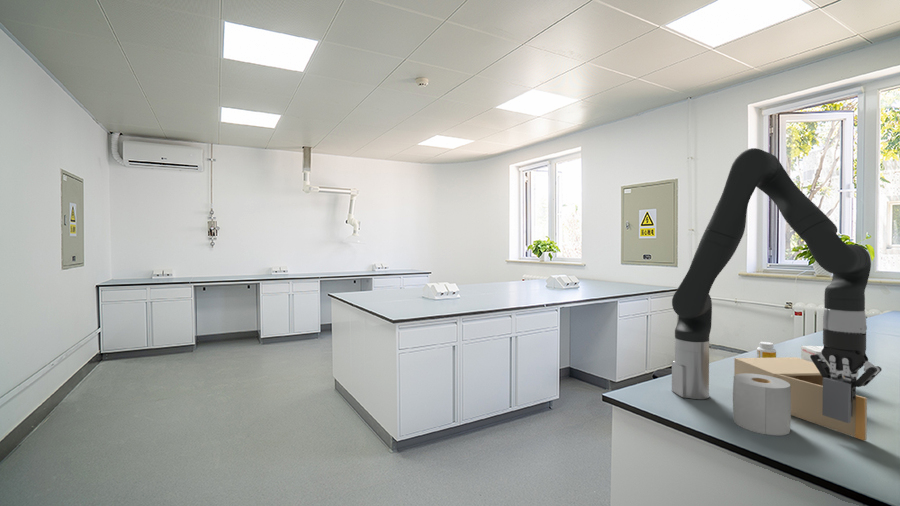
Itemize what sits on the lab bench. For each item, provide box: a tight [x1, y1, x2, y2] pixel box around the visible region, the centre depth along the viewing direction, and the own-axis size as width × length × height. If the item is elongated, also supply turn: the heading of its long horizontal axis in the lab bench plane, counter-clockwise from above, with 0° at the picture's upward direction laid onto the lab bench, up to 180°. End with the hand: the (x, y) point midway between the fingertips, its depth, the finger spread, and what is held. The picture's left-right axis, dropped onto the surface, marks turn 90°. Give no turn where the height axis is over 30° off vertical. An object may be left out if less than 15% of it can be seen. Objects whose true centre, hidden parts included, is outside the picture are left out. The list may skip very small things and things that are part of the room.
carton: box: [733, 356, 845, 386], centre depth 125 cm, size 20×16×10 cm
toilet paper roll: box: [732, 373, 792, 437], centre depth 107 cm, size 12×12×12 cm
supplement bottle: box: [756, 341, 777, 358], centre depth 151 cm, size 6×6×10 cm
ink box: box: [800, 345, 830, 368], centre depth 137 cm, size 9×8×12 cm
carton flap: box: [774, 373, 868, 441], centre depth 106 cm, size 20×6×14 cm, turn 20°
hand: (843, 400), depth 100 cm, fingers closed
